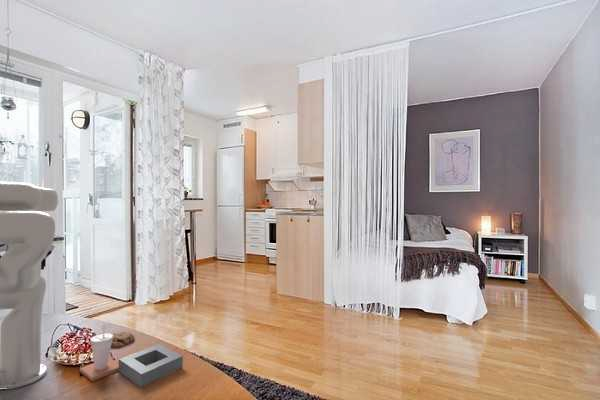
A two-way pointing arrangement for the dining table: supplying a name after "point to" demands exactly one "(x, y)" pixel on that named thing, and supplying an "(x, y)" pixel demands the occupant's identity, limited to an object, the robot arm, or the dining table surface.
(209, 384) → the dining table surface
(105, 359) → the smoothie
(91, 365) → the pad
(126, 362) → the box
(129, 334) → the cookie
